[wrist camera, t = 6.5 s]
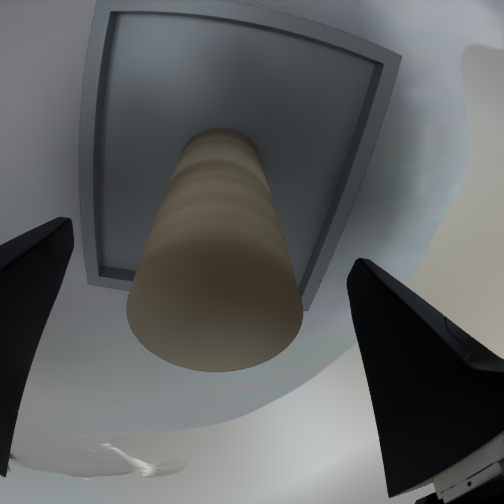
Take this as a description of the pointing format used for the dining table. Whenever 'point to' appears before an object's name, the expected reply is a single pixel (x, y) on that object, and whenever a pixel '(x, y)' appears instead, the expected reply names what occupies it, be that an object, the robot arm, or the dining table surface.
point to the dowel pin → (216, 263)
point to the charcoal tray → (224, 120)
